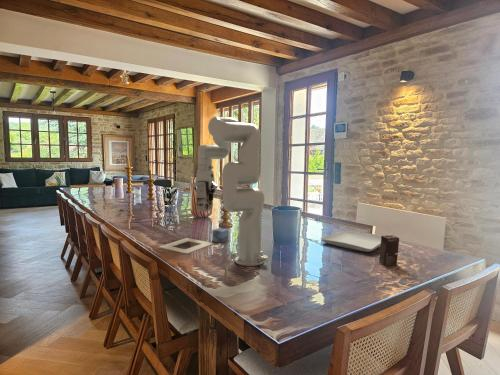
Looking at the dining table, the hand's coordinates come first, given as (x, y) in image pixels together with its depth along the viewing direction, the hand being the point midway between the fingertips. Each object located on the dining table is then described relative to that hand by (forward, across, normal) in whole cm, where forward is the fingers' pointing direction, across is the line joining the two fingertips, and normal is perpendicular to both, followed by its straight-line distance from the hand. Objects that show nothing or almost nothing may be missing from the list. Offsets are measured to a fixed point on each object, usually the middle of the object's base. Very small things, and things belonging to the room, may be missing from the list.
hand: (204, 199), depth 181 cm
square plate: (+21, -76, -29) cm, 84 cm away
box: (+20, -95, -5) cm, 97 cm away
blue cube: (+20, -14, +4) cm, 25 cm away
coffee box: (+6, 0, 0) cm, 6 cm away
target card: (+20, -6, +21) cm, 30 cm away
